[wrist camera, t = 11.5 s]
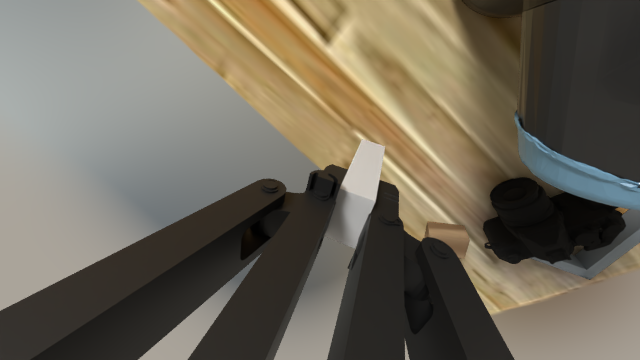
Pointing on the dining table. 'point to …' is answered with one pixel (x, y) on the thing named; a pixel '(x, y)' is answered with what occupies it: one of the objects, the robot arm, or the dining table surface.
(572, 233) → the film camera
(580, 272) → the bay
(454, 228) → the oak chock block
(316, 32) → the dining table surface
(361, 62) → the dining table surface
